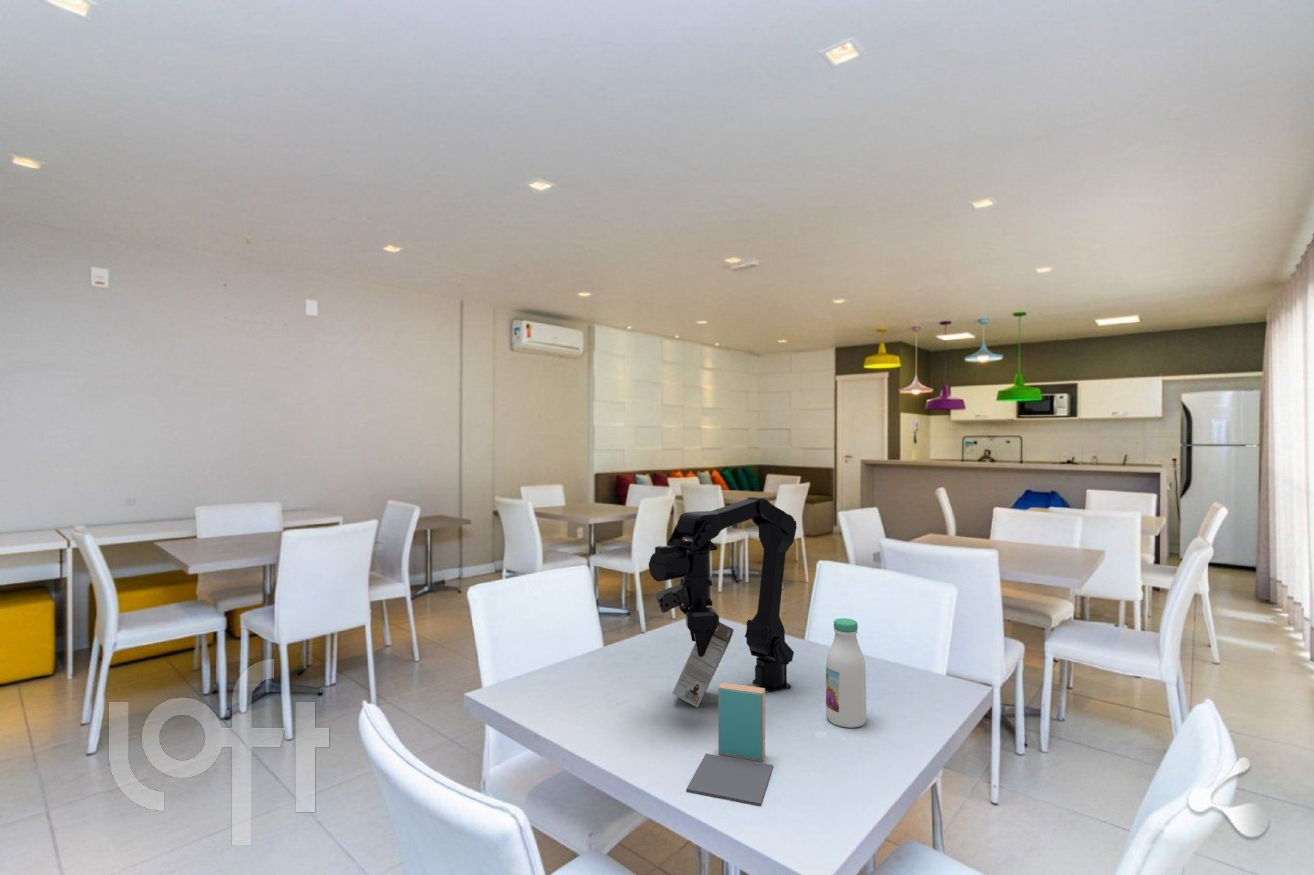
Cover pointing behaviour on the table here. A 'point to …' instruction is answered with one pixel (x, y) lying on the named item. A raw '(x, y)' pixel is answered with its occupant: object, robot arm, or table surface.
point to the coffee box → (702, 667)
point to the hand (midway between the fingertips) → (697, 648)
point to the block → (741, 721)
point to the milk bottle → (845, 677)
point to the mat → (731, 779)
